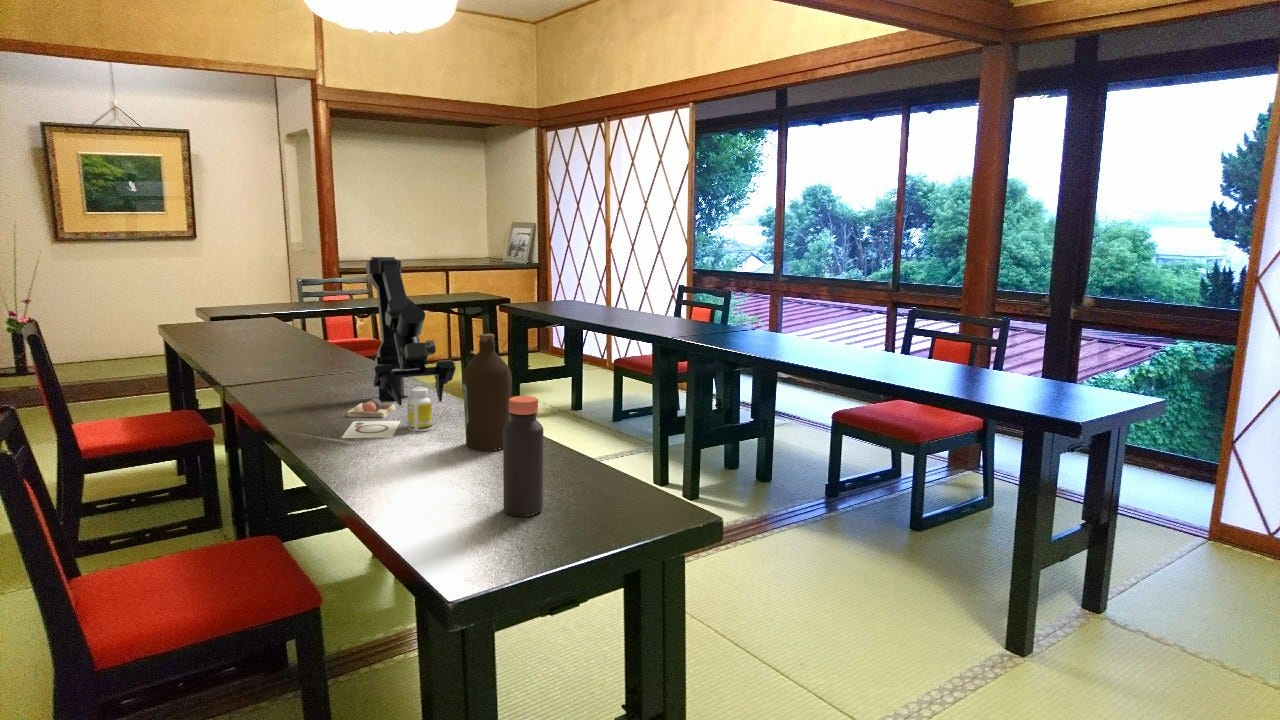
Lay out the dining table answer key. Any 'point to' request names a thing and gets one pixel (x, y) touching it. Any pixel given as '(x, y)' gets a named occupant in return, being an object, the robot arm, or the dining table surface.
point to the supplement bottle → (419, 410)
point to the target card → (371, 429)
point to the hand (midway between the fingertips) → (420, 402)
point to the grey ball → (376, 403)
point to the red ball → (369, 407)
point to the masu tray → (379, 413)
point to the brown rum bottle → (486, 397)
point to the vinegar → (523, 458)
